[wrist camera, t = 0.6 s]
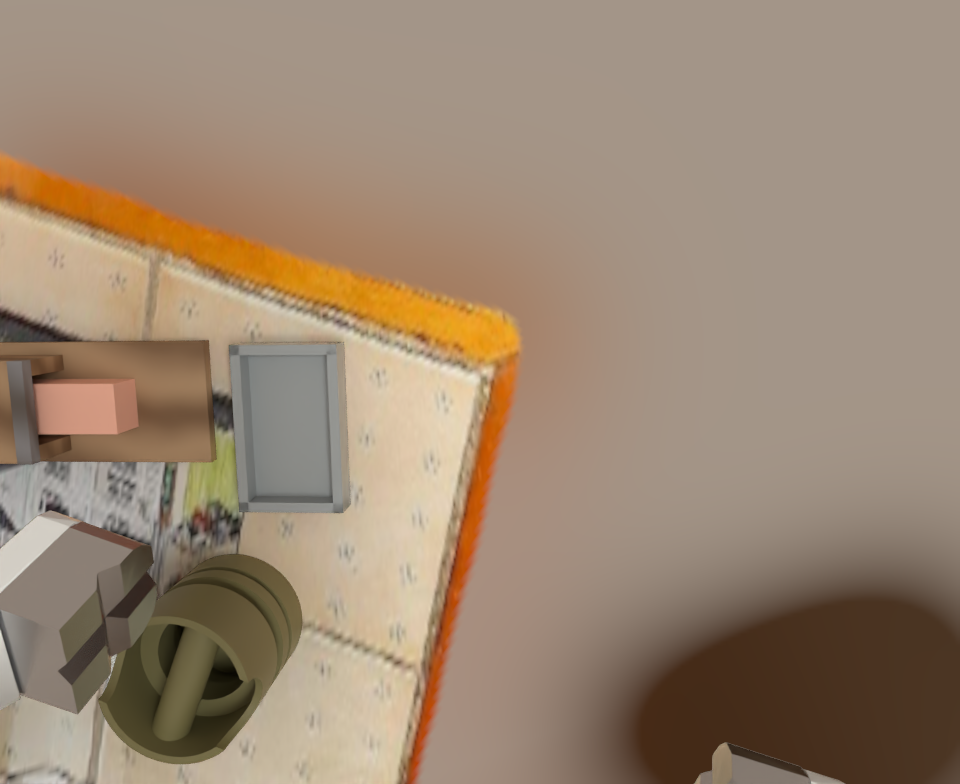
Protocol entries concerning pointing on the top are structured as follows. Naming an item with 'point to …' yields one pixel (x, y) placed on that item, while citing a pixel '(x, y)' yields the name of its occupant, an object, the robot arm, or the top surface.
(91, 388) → the salmon pink rectangular prism
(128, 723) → the piston
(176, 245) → the top surface
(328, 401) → the tray
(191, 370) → the brown slab
